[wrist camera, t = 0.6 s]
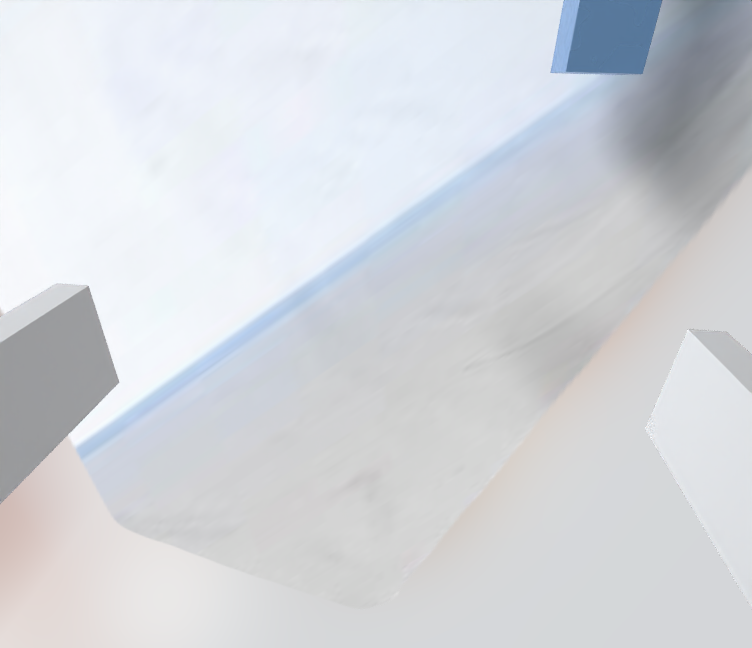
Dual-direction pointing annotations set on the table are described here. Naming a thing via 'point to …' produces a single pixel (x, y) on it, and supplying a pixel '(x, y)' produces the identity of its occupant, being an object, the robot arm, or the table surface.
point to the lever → (605, 36)
